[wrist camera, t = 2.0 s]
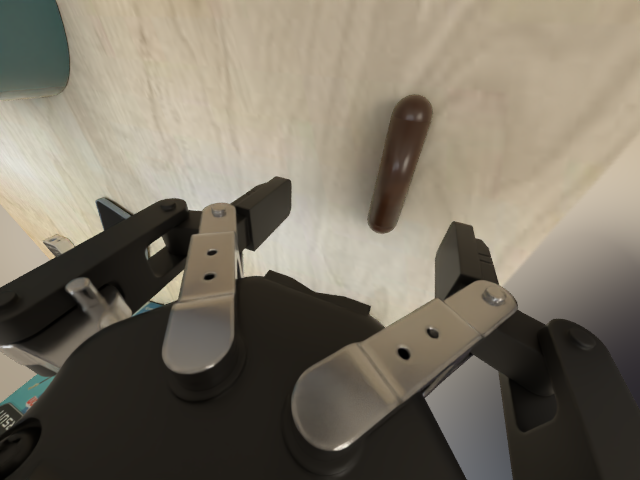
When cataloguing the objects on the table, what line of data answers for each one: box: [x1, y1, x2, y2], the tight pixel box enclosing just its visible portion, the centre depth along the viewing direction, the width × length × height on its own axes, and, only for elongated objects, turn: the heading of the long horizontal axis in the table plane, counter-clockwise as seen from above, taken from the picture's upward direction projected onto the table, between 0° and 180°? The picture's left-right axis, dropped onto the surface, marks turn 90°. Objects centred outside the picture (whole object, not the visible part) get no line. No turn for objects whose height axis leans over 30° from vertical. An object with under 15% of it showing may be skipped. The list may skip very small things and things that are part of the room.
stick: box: [367, 95, 433, 234], centre depth 16 cm, size 9×2×2 cm
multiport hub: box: [43, 235, 74, 257], centre depth 50 cm, size 4×11×2 cm, turn 1°
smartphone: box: [96, 198, 148, 260], centre depth 38 cm, size 7×1×15 cm
